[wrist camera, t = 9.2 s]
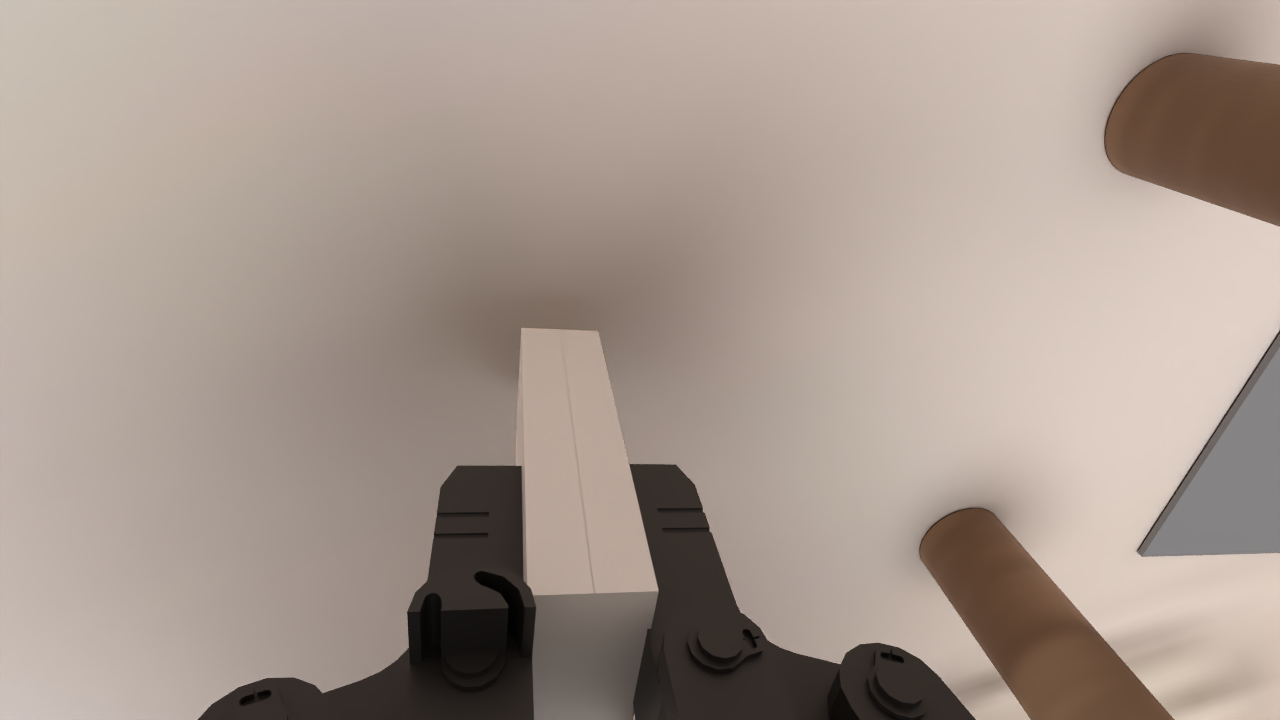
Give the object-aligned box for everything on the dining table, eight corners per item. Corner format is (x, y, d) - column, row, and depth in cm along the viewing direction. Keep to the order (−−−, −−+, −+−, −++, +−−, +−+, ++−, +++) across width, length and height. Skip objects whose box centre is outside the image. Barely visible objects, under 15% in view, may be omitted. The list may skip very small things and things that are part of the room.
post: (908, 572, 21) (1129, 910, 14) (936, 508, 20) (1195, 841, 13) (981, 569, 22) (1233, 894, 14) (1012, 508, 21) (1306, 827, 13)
